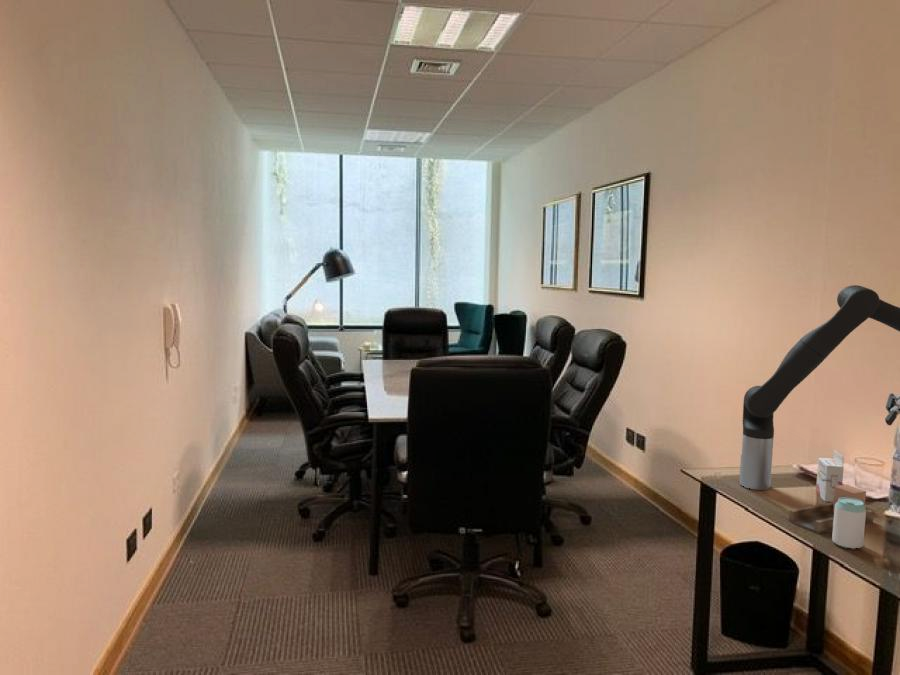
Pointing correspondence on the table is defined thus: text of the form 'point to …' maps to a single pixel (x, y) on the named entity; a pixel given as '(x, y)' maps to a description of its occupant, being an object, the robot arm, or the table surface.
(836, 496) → the block
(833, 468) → the ink cartridge box
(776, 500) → the table surface
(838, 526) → the can
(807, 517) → the chute
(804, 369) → the robot arm
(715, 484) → the table surface
